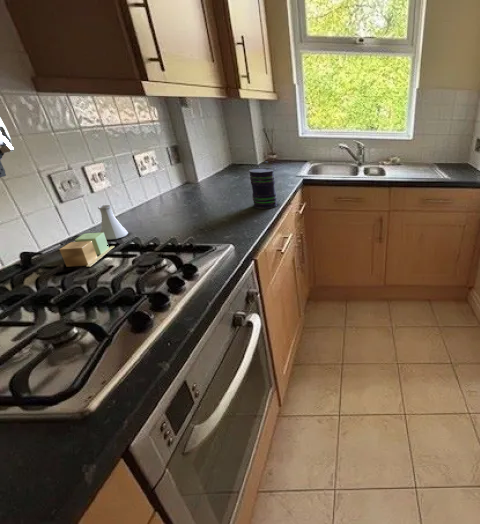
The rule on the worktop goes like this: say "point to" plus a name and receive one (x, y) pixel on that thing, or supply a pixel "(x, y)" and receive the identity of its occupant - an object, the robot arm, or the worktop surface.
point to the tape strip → (100, 256)
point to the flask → (110, 224)
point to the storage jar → (263, 187)
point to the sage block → (95, 241)
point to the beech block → (78, 253)
